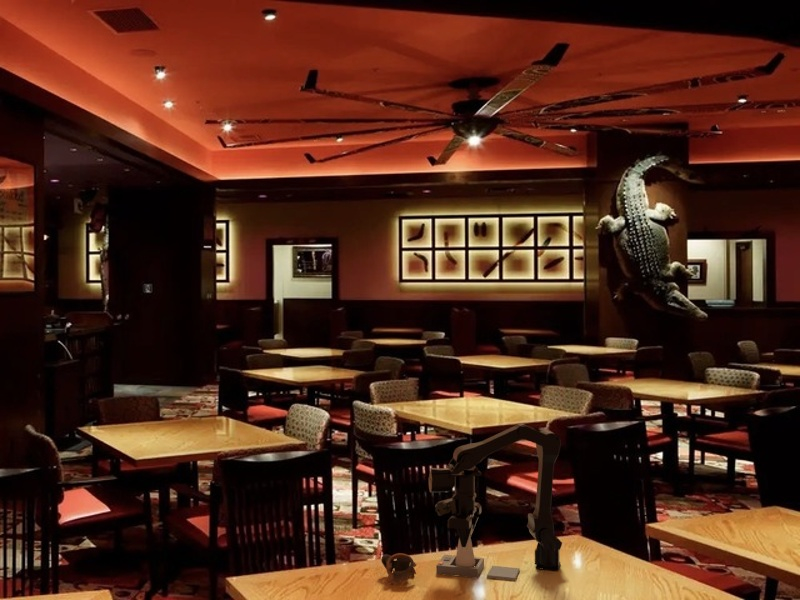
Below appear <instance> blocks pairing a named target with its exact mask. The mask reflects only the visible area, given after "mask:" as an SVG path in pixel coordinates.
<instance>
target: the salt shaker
mask: <svg viewBox="0 0 800 600" xmlns="http://www.w3.org/2000/svg"><path fill="white" fill-rule="evenodd" d="M472 531H473V532H474V530H471V533H470V535H471V534H473V533H472ZM471 537H472V535H471ZM471 537H470V536H469V539H468V542H467V545H466V547H462V546H461V542H460V538H459V537H458V542H457V543H458V544H457V549H456V554H455V556H456V560H455V564H456V566H464V567H474V566H475V558H474V557H475V554H474V548H473V543H472V539H471ZM474 568H475V567H474Z"/></svg>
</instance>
